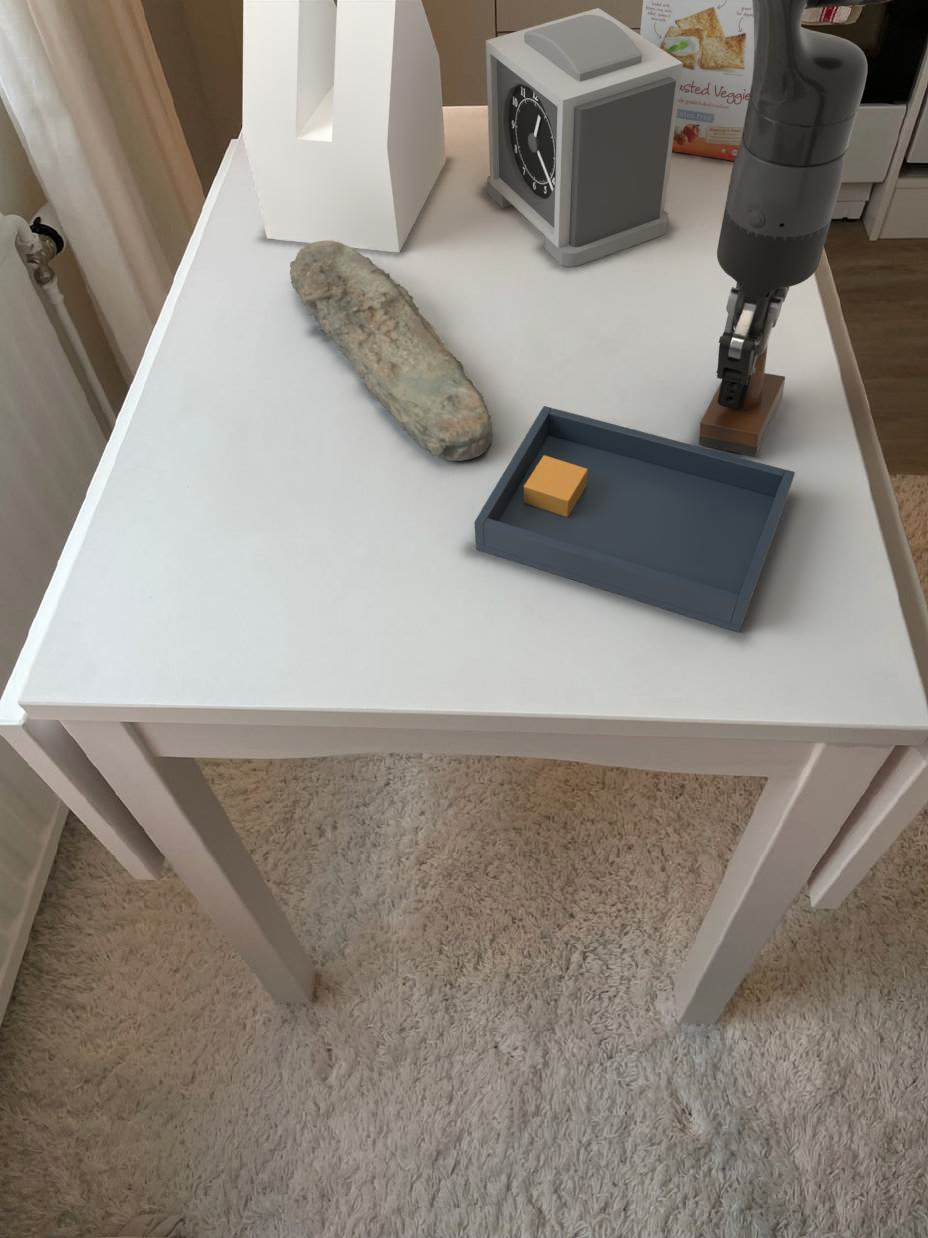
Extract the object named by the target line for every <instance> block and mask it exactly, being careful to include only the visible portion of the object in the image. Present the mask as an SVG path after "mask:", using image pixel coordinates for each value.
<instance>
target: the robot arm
mask: <svg viewBox="0 0 928 1238" xmlns="http://www.w3.org/2000/svg"><path fill="white" fill-rule="evenodd" d="M890 1H891V2H892V0H752V4H753V18H754V67H753V78H752V84H751V90H750V96H749V101H748V106H747V112H746V117H745V122H744V128H743V133H742V138H741V142H740V146H739V149H738V152H737V155H736V158H735V161H733V164H732V169H731V172H730V178H729V183H728V189H727V193H726V194H727V195H726V199H725V205H724V212H723V216H722V221H721V227H720V232H719V238H718V243H717V249H716V258H717V259H716V260H717V262H718V264H719V266H720V268H721V269H722V270H723V272H724V273H725V274H726V275H727V276H729V277H730V278H731V279H733V280H734V281H735V282H736V285H735V287H734V286H732V287H731V289H730V291H729V295H728V298H727V302H726V303H727V304H726V307H725V308H726V313H727V318H726V322H725V325H724V329H723V333H722V335H720V336H719V338H718V339H719V340H718V345H719V346H718V359H717V369H716V379H720V380H721V382H720V384H721V387H720V391H719V396H718V404H719V405H721V406H724V407H728V408H731V409H735V410H741V409H742V408H743V406H744V404H745V401H746V397H747V393H748V389H749V385H750V381H751V377H752V375H753V374H754V373H755V370H756V368H755V365H756V361H757V357H758V355H760V354H762V353H763V352H764V351H765V348H766V346H767V344H768V345H769V340H770V337H771V333H772V329H773V328H775V327H776V325H777V323H778V320H779V317H780V315H781V312H782V307H783V303H784V302H785V300H786V298H787V297H788V293H789V290H790V287H794V286H797V285H799V284H801V283H803V282H805V281H807V280H808V279H810V278H811V277H812V276H813V275H814V274H815V272H816V271H817V270H818V267H819V265H820V261H821V258H822V255H823V251H824V247H825V244H826V240H827V238H828V237H827V236H828V233H829V229H830V226H831V222H832V219H833V215H834V212H835V208H836V204H837V201H838V198H839V194H840V190H841V187H842V184H843V178H844V175H845V174H844V172H845V165H846V159H847V152H848V148H849V145H850V141H851V137H852V134H853V130H854V126H855V123H856V119H857V116H858V112H859V108H860V105H861V101H862V99H863V94H864V91H865V86H866V82H867V76H868V60H867V57H866V55H865V52H864V51H863V50H862V49H861V48H860V47H859V46H858V45H857V44H855V43H854V42H851V40H848V39H846V38H842V37H840V36H836V35H833V34H829V33H824V32H821V31H815V30H812V29H808V28H805V27H804V26H803V27H802V20H803V16H804V12H805V10H808V9H819V8H838V7H839V8H840V7H852V6H854V7H855V6H870V5H871V6H872V5H880V4H885V3H887V2H890ZM761 333H762V336H761V337H753V336H760V335H761ZM748 335H749V336H748Z"/></svg>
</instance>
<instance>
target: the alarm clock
mask: <svg viewBox="0 0 928 1238" xmlns="http://www.w3.org/2000/svg"><path fill="white" fill-rule="evenodd" d="M485 53H486V54H485V62H486V89H487V90H486V92H487V94H486V95H487V126H488V127H487V128H488V157H489V159H488V160H489V175H488V176H487V178H486V183H487V184H486V188H487V192H486V193H487V195H488V196H489V197H490V198H491V199H492V201H494V202H495V203H496V204H497V205H498V206H499V207H500V208H501V209H504V208H508V207H511V206H513V207H514V208H515V209H516V210H517V211H518V212H519V213H520V214H521V215H523V216H524V217H525V218H526V219H527V220H528V221H529V222H530V223H531V224H532V225H533V226H534V227H535V228H536V229H538V231H540V232H541V233H542V234H543V235H544V250H545V251H546V252H547V253H548V254H549V255H550V256H551V257H552V258H553V259H554V260H555V261H556V262H557V263H558V264H560V265H561V266H563V267H566V268H576V267H579V266H582V265H585V264H587V263H590V262H593V261H596V260H599V259H601V258H603V257H606V256H610V255H612V254H615V253H618V252H620V251H623V250H626V249H629V248H631V247H634V246H637V245H640V244H642V243H645V242H648V241H650V240H653V239H656V238H659V237H663V236H665V234H666V233H667V231H668V224H669V213H668V212H667V211H666V209H665V208H666V201H667V193H668V184H669V178H670V177H669V176H670V170H671V162H672V161H671V160H672V152H673V151H672V145H673V137H674V130H675V122H676V114H677V106H678V98H679V90H680V82H681V74H682V66H683V63H682V62H680V61H679V60H677V59H676V58H674V57H673V56H671V55H670V54H668V53H667V52H665V51H664V50H662V49H660V48H659V47H657V46H656V45H654V44H653V43H651V42H650V41H648V40H647V39H645V38H644V37H642V36H640V33H637V32H636V31H635V30H633V29H632V28H630V27H628V26H627V25H626V24H624V23H622V22H621V21H619V20H617V19H616V18H614V17H613V16H611V15H610V14H609V13H607V12H605V11H604V10H603V9H601V8H600V7H597V8H593V9H590V10H586V11H582V12H579V13H575V14H572V15H569V16H566V17H563V18H559V19H555V20H552V21H548V22H545V23H541V24H537V25H534V26H531V27H528V28H523V29H520V30H516V31H514V32H510V33H507V34H504V35H500V36H497V37H492V38H489V39H486V40H485Z"/></svg>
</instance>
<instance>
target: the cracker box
mask: <svg viewBox="0 0 928 1238" xmlns="http://www.w3.org/2000/svg"><path fill="white" fill-rule="evenodd" d="M640 20H641V21H640V31H639V35H640V36H642V37H644V38H645V39H647V40H648V41H650V42H651V43H653V44H654V45H656V46H657V47H659V48H660V49H662V50H664V51H665V52H667V53H668V54H670V55H671V56H673V57H674V58H676V59H677V60H679V61H680V62H682V63H683V66H682V74H681V82H680V90H679V98H678V106H677V114H676V122H675V130H674V137H673V145H672V152H676V153H683V154H689V155H695V156H702V157H708V158H714V159H720V160H727V161H733V162H734V161H735V158H736V155H737V152H738V149H739V146H740V142H741V138H742V133H743V128H744V122H745V117H746V112H747V106H748V101H749V96H750V90H751V84H752V78H753V67H754V18H753V4H752V0H642V10H641V19H640Z"/></svg>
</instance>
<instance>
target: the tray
mask: <svg viewBox="0 0 928 1238" xmlns="http://www.w3.org/2000/svg"><path fill="white" fill-rule="evenodd" d="M544 455H545V456H548V457H552V458H555V459H558V460H561V461H564V462H567V463H571V464H574V465H577V466H580V467H583V468H586V469H588V474H587V486H586V488H585V489H584V491H583V493H582V494H581V496H580V498H579V499H578V501H577V503H576V504H575V506H574V508H573V509H572V511H571V513H570V514H569V516H568V517H565V516H562V515H559V514H556V513H553V512H550V511H547V510H544V509H541V508H538V507H535V506H532V505H529V504H526V503H524V485H525V484H526V482H527V481H528V479H529V477H530V476H531V474H532V473H533V471H534V470H535V468H536V467H537V465H538V463H539V462H540V460H541V459H542V457H543V456H544ZM795 474H796V471H793V470H789V469H785V468H782V467H777V466H773V465H771V464H767V463H762V462H758V461H754V460H750V459H747V458H743V457H740V456H736V455H732V454H728V453H725V452H720V451H716V450H713V449H708V448H706V447H703V446H702V447H701V446H698V445H694V444H690V443H687V442H682V441H678V440H676V439H671V438H668V437H663V436H660V435H656V434H652V433H649V432H644V431H640V430H637V429H633V428H630V427H626V426H623V425H622V426H621V425H618V424H615V423H610V422H607V421H603V420H599V419H595V418H592V417H588V416H585V415H580V414H576V413H574V412H573V413H572V412H570V411H569V412H568V411H565V410H560V409H558V408H554V407H551V406H547V405H543V406H542V408H541V409H540V411H539V413H538V415H537V416H536V418H535V419H534V421H533V423H532V425H531V426H530V428H529V430H528V431H527V433H526V435H525V437H523V439H522V442H521V443H520V445H519V447H518V449H517V450H516V451H515V453H514V454H513V456H512V458H511V460H510V462H509V463H508V465H507V467H506V468H505V470H504V471H503V473H502V475H501V477H500V478H499V480H498V481H497V484H496V485H495V487H494V488H493V490H492V492H491V494H490V495H489V497H488V498H487V500H486V502H485V504H484V505H483V507H482V508H481V510H480V512H479V514H478V515H477V517H476V518H475V520H474V522H473V523H474V537H475V549H476V550H477V551H481V552H484V553H487V554H489V555H494V556H497V557H500V558H503V559H506V560H510V561H512V562H515V563H519V564H522V565H525V566H528V567H531V568H534V569H538V570H541V571H545V572H547V573H551V574H554V575H557V576H560V577H563V578H566V579H570V580H572V581H576V582H579V583H582V584H585V585H588V586H592V587H595V588H596V589H597V588H598V589H601V590H604V591H607V592H610V593H613V594H617V595H620V596H622V597H627V598H630V599H632V600H636V601H639V602H642V603H645V604H648V605H651V606H655V607H657V608H660V609H664V610H668V611H670V612H673V613H676V614H680V615H682V616H686V617H689V618H692V619H695V620H699V621H702V622H705V623H708V624H710V625H714V626H717V627H720V628H724V629H727V630H731V631H732V632H733V631H734V632H736V633H739V632H740V631H741V629H742V627H743V623H744V620H745V617H746V615H747V612H748V609H749V606H750V603H751V600H752V597H753V595H754V592H755V589H756V588H757V587H756V586H757V583H758V581H759V578H760V576H761V573H762V569H763V567H764V565H765V562H766V559H767V555H768V553H769V550H770V547H771V544H772V541H773V539H774V537H775V536H774V535H775V533H776V530H777V528H778V524H779V523H780V519H781V516H782V513H783V511H784V509H785V505H786V503H787V499H788V496H789V493H790V489H791V487H792V484H793V481H794V478H795Z"/></svg>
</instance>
